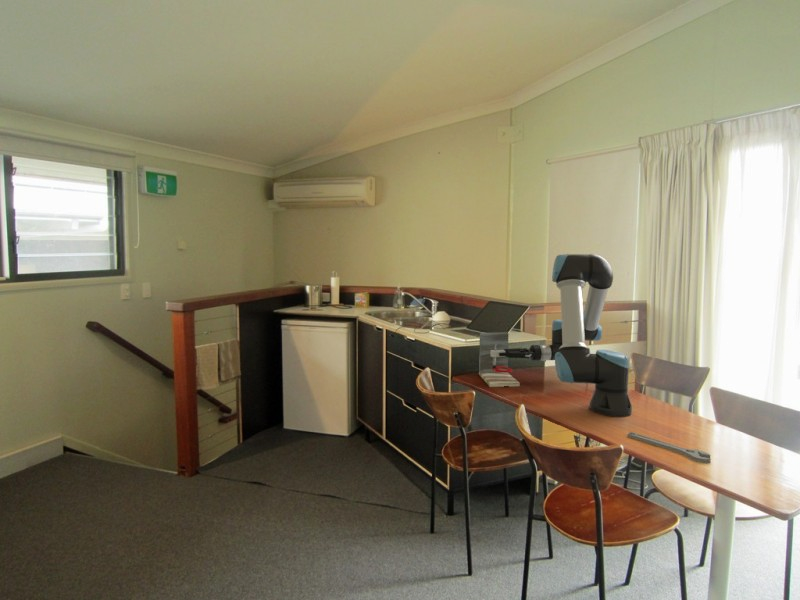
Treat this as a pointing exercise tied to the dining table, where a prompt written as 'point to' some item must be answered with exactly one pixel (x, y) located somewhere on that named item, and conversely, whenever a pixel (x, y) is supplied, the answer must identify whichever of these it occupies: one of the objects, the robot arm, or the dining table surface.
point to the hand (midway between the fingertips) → (491, 353)
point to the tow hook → (499, 366)
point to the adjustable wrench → (674, 448)
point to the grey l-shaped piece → (486, 360)
